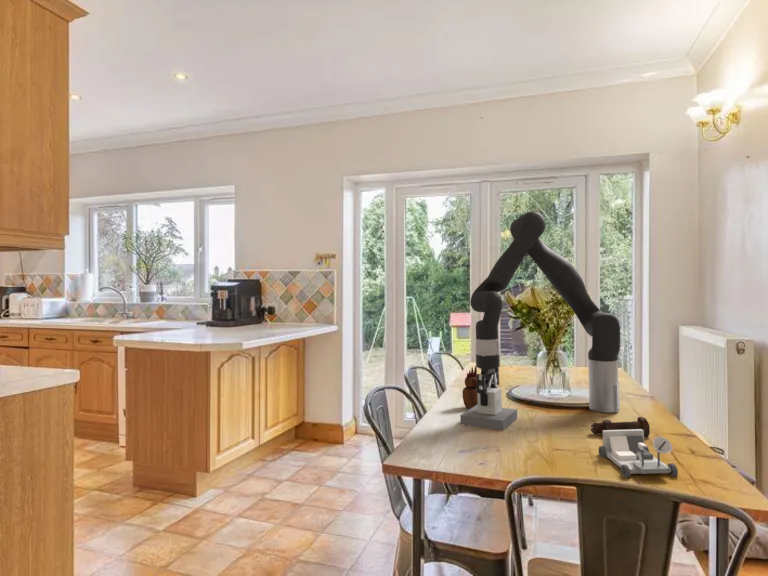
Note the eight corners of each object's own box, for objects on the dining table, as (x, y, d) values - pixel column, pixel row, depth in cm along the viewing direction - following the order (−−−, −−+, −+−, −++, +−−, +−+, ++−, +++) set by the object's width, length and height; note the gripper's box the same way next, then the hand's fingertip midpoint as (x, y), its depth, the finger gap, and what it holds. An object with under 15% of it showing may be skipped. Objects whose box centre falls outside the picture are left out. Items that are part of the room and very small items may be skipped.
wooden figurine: (481, 405, 177) (480, 364, 177) (482, 410, 171) (481, 367, 171) (462, 405, 177) (461, 364, 177) (463, 410, 172) (462, 367, 171)
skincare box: (502, 411, 158) (501, 388, 158) (495, 415, 153) (494, 392, 153) (484, 408, 162) (484, 386, 162) (477, 413, 157) (476, 390, 157)
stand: (517, 418, 160) (517, 409, 160) (503, 430, 148) (503, 420, 148) (476, 413, 167) (476, 404, 167) (460, 424, 155) (460, 415, 155)
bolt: (591, 440, 142) (645, 439, 140) (595, 437, 138) (651, 435, 136) (587, 420, 145) (640, 418, 143) (591, 416, 140) (646, 414, 139)
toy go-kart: (684, 440, 108) (631, 441, 108) (685, 484, 108) (632, 485, 108) (642, 416, 126) (597, 418, 126) (643, 454, 126) (598, 455, 126)
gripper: (484, 349, 165) (485, 396, 165) (468, 355, 153) (469, 406, 153) (505, 350, 161) (507, 398, 161) (491, 356, 149) (492, 409, 149)
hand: (488, 402), depth 157 cm, fingers open, 8 cm apart
